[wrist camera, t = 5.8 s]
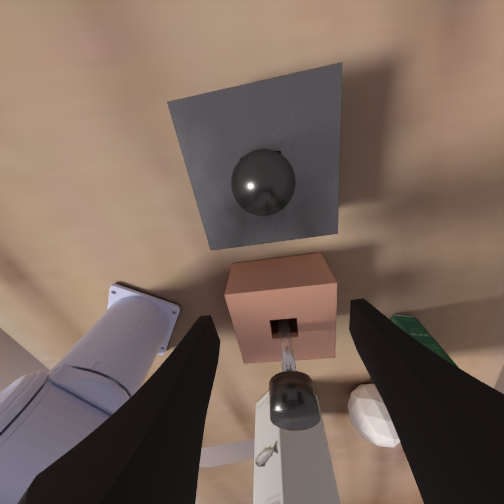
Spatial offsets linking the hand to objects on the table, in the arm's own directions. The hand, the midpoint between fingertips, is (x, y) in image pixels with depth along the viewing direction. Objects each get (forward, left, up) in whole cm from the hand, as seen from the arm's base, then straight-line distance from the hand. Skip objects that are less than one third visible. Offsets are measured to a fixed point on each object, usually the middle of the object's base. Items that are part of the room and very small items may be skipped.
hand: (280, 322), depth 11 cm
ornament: (-16, -23, -11) cm, 30 cm away
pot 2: (-5, -4, -10) cm, 12 cm away
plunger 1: (+6, +4, -10) cm, 12 cm away
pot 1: (+6, +4, -10) cm, 12 cm away
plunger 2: (-5, -4, -6) cm, 9 cm away
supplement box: (-24, -14, -11) cm, 30 cm away
